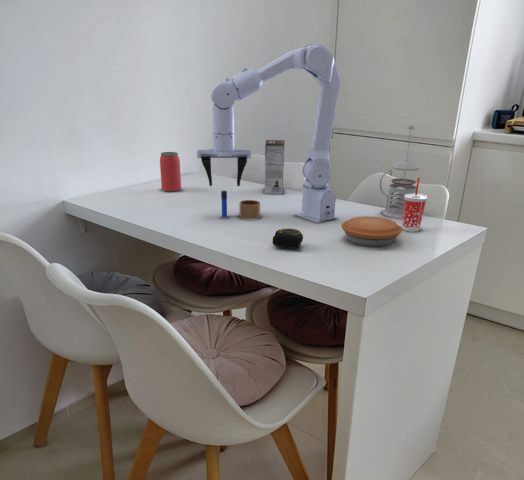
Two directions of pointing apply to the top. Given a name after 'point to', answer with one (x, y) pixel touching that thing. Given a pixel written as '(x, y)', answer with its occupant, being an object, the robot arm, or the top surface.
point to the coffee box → (274, 166)
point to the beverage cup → (413, 210)
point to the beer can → (170, 171)
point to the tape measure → (288, 238)
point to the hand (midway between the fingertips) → (224, 185)
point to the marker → (224, 203)
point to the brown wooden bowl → (249, 209)
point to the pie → (371, 231)
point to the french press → (398, 207)
